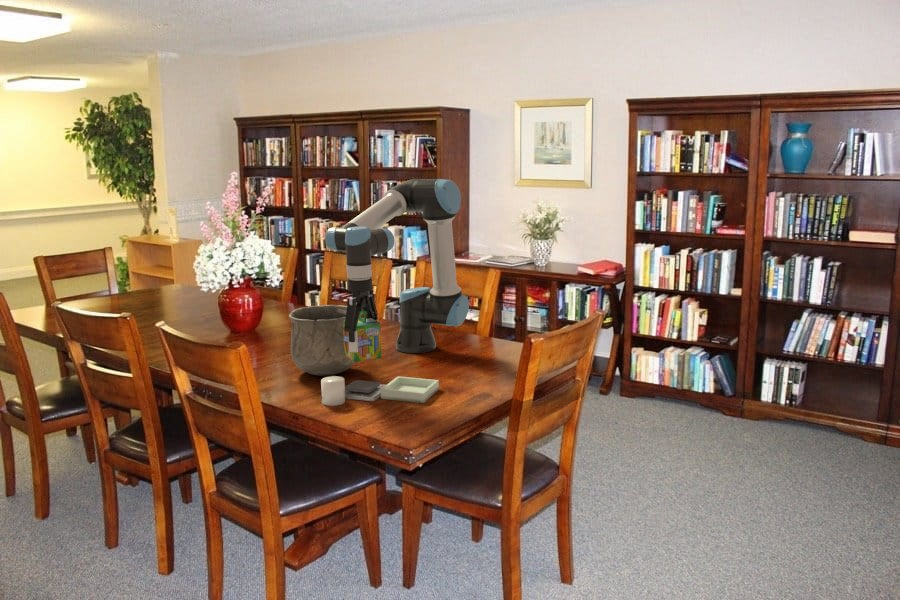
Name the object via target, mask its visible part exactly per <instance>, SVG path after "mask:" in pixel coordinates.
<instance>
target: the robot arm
mask: <svg viewBox="0 0 900 600" xmlns="http://www.w3.org/2000/svg"><path fill="white" fill-rule="evenodd" d="M461 204H462V195H461V191H460V189H459V186H458V184H456V183H455V181H453V180H451V179H443V178H412V179H409V180H405V181H403V182H401V183H399V184H397V185H395V186H393V187H392V188H390V189H388V190H387V191H386V192H385V193H384V194H383V197H382V198H381V199H379V200H377V201H376V202H375V203H374V204H372V205H371V206H369V207H368V208H367V209H365V210H364V211H362V212H360V214H359V215H356V217H354V218H352V219H351V220H349V222H347V223H345V224H344V225H343V226H341V227H338V226H335V227H330V228H328V230H326V232H325V236H324V241H325V245H326V247H327V248H328V249H329V250H331V251H335V252H345V257H346V267H345V270H346V276H347V279H346V280H347V281H346V282H347V284H346V285H347V291H348V292H351V294H352V295H351V296H352V297H347V299H346V306H347V311H346V318H345V326H344V331H348V340H349V352H358V335H357V331H356V327H357V323H358V319H359V316H360V312H361V311H362V310H364V311H366V312H367V317H370V318H372V319H374V320H376V321H378V315H379V313H378V309H377V306H376V302H375V299H374V290H373V279H372V277H373V271H372V256H377V255H379V254H385V253H386V252H389V251H391V250H392V249H393V247H394V245H395V241H396V240H395V236H394V233H392V231H391V230H390V229H388V228H382V227H383V226H384V225H385V224H387V223H388V222H389V221H391V220H392V219H394V218H395V217H400V216H402V215H404V214H405V213H409V212H410V213H411V212H412V213H413V212H417V213H422V219H423V221H425V222H426V224H427V229H428V230H427V232H428V242H429V253H430V262H431V263H430V264H431V273H432V274H431V275H432V284H433V285H432V287H429V286H421V287H412V288H407V289H403V290H402V291H401V292H400V293H399V314H400V315H399V320H400V321H399V324H400V328H399V332H398V335H397V339H396V342H395V349H396V350H397V351H398V352H402V353H408V354H421V353H428V352H432V351H434V350H436V348H437V343H436V339H435V336H434V333H433V330H432V325H439V326H440V325H441V326H447V327H459V326H461V325H462V324H463V323H464V322H465V320H466V319H467V315H468V312H469V308H470V301H469V298H468V296H466V295H465V294H463V292H462V287H461V286H459V285H458V280H457V271H456V269H457V268H456V257H455V246H454V234H453V233H454V231H453V220H455V218H456V216H457V215H456V214H457V213H458V212H459V211H460V209H461Z"/></svg>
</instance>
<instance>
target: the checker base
mask: <svg viewBox="0 0 900 600" xmlns="http://www.w3.org/2000/svg"><path fill="white" fill-rule="evenodd" d="M353 382H355V380H354V381H351V382H349V383H348V384H347V385H345V400H347V399H349V400H358V401H367V402H368V401H369V402H375V401H376V400H378V399H379V398H381V389H382V388H383V387H384V386H386V385H387V384H385V383H380V386H378V387H377V388H376V389H374V390H373V391H372V392H370V393H364V392H354V391H346V387H347V386H349V385H350V384H352V383H353Z"/></svg>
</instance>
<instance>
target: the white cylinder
mask: <svg viewBox="0 0 900 600" xmlns="http://www.w3.org/2000/svg"><path fill="white" fill-rule="evenodd" d="M320 386H321V389H320V391H321V404H322V405H324V406H328V407H331V406H332V407H333V406H340V405H343V404H345V403H346V398H345V386H346V384H345V377H343V376H336V375H330V376H324V377H323V378H322V379H320Z"/></svg>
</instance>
